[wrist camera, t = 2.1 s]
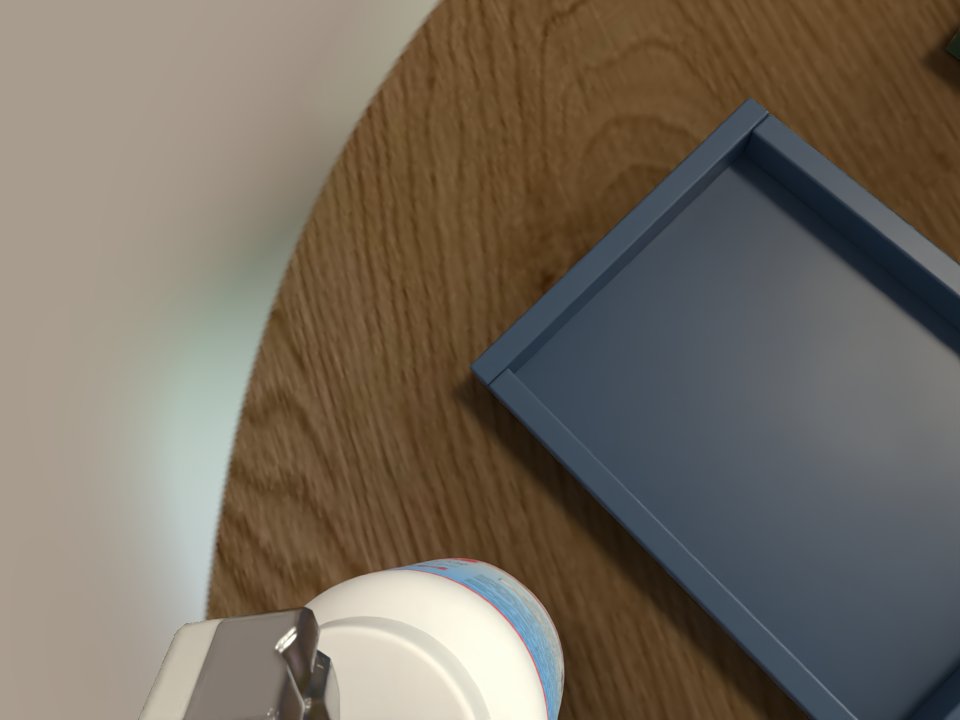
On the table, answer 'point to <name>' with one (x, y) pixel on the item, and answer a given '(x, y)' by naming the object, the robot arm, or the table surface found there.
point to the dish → (769, 414)
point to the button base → (954, 45)
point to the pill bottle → (441, 645)
